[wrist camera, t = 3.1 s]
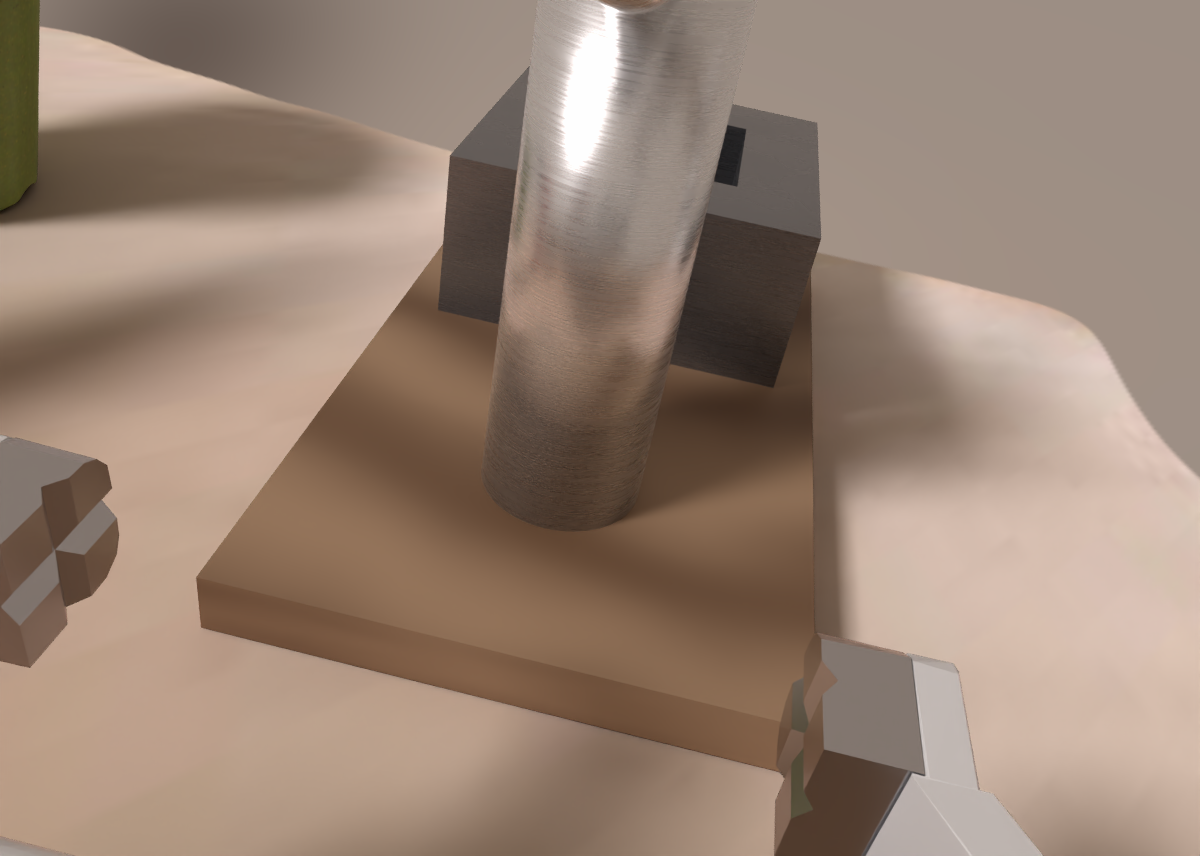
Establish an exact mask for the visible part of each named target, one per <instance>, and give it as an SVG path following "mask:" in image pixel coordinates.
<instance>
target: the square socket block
mask: <svg viewBox="0 0 1200 856" xmlns="http://www.w3.org/2000/svg"><path fill="white" fill-rule="evenodd" d="M529 68H530V66H529V67H528V68H527V69H526V70H525V72H524V73H523V74H522V75H521V76H520V77H519V78H518V79H517V81H516V82H515V83H514V84H513V85H512V86H511V87H510V89H509V90H508V91H507V92H506V93H505V94H504V95H503V96H502V98H501V99H500V100H499V101H498V102H497V103H496V104H495V105H494V107H493V108H492V109H491V110H490V111H489V112H488V113H487V114H486V116H485V117H484V118H483V119H482V120H481V121H480V122H479V123H478V125H477V126H476V127H475V128H474V129H473V130H472V131H471V133H470V134H469V135H468V136H467V137H466V138H465V139H464V140H463V141H462V143H461V144H460V145H459V146H458V147H457V148H456V149H455V150H454V152H453V153H452V154H451V155H450V164H449V177H448V189H447V202H446V214H445V227H444V240H443V252H442V265H441V277H440V290H439V303H438V310H439V311H443V312H448V313H452V314H456V315H461V316H465V317H469V318H473V319H478V320H482V321H486V322H491V323H495V324H499V319H500V310H501V302H502V294H503V285H504V277H505V269H506V260H507V252H508V244H509V235H510V227H511V219H512V210H513V202H514V194H515V185H516V177H517V169H518V160H519V152H520V144H521V135H522V127H523V119H524V110H525V102H526V93H527V85H528V77H529ZM817 135H818V132H817V123H815V122H811V121H806V120H802V119H797V118H793V117H788V116H783V115H779V114H774V113H769V112H765V111H760V110H756V109H751V108H746V107H742V106H738V105H733V104H732V108H731V112H730V116H729V120H728V124H727V128H726V133H725V137H724V141H723V145H722V149H721V153H720V157H719V162H718V166H717V170H716V174H715V178H714V182H713V187H712V191H711V195H710V199H709V203H708V207H707V211H706V216H705V220H704V224H703V228H702V232H701V236H700V240H699V245H698V249H697V253H696V257H695V261H694V265H693V269H692V274H691V278H690V282H689V286H688V290H687V294H686V299H685V303H684V307H683V311H682V315H681V319H680V323H679V328H678V332H677V336H676V340H675V344H674V348H673V352H672V357H671V361H670V364H672V365H676V366H680V367H685V368H689V369H693V370H698V371H702V372H706V373H711V374H715V375H719V376H723V377H728V378H732V379H736V380H741V381H745V382H749V383H754V384H758V385H762V386H767V387H771V388H774V385H775V382H776V379H777V375H778V372H779V369H780V366H781V363H782V360H783V357H784V353H785V350H786V347H787V344H788V341H789V338H790V335H791V331H792V328H793V325H794V322H795V319H796V316H797V313H798V309H799V306H800V303H801V300H802V297H803V294H804V291H805V287H806V284H807V281H808V278H809V275H810V272H811V269H812V265H813V262H814V259H815V256H816V253H817V250H818V246H819V243H820V240H821V224H820V193H819V165H818V164H819V163H818V137H817Z"/></svg>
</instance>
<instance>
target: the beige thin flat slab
mask: <svg viewBox="0 0 1200 856" xmlns="http://www.w3.org/2000/svg"><path fill="white" fill-rule="evenodd" d="M442 252H443V245H442V246H441V248H440V249H439V250H438V252H437V253H436V254H435V256H434V257H433V258H432V260H431V261H430V262H429V264H428V265H427V266H426V268H425V269H424V271H423V272H422V273H421V275H420V276H419V277H418V279H417V280H416V281H415V283H414V284H413V285H412V287H411V288H410V289H409V291H408V292H407V293H406V295H405V296H404V298H403V299H402V300H401V302H400V303H399V304H398V306H397V307H396V308H395V310H394V311H393V312H392V314H391V315H390V316H389V318H388V319H387V321H386V322H385V323H384V325H383V326H382V327H381V329H380V330H379V331H378V333H377V334H376V335H375V337H374V338H373V339H372V341H371V342H370V343H369V345H368V346H367V348H366V349H365V350H364V352H363V353H362V354H361V356H360V357H359V358H358V360H357V361H356V362H355V364H354V365H353V366H352V368H351V369H350V370H349V372H348V373H347V375H346V376H345V377H344V379H343V380H342V381H341V383H340V384H339V385H338V387H337V388H336V389H335V391H334V392H333V393H332V395H331V396H330V397H329V399H328V400H327V402H326V403H325V404H324V406H323V407H322V408H321V410H320V411H319V412H318V414H317V415H316V416H315V418H314V419H313V420H312V422H311V423H310V424H309V426H308V427H307V429H306V430H305V431H304V433H303V434H302V435H301V437H300V438H299V439H298V441H297V442H296V443H295V445H294V446H293V447H292V449H291V450H290V451H289V453H288V454H287V456H286V457H285V458H284V460H283V461H282V462H281V464H280V465H279V466H278V468H277V469H276V470H275V472H274V473H273V474H272V476H271V477H270V479H269V480H268V481H267V483H266V484H265V485H264V487H263V488H262V489H261V491H260V492H259V493H258V495H257V496H256V497H255V499H254V500H253V501H252V503H251V504H250V506H249V507H248V508H247V510H246V511H245V512H244V514H243V515H242V516H241V518H240V519H239V520H238V522H237V523H236V524H235V526H234V527H233V528H232V530H231V531H230V533H229V534H228V535H227V537H226V538H225V539H224V541H223V542H222V543H221V545H220V546H219V547H218V549H217V550H216V551H215V553H214V554H213V555H212V557H211V558H210V560H209V561H208V562H207V564H206V565H205V566H204V568H203V569H202V570H201V572H200V573H199V574H198V576H197V577H196V579H197V590H198V600H199V610H200V620H201V627H202V628H206V629H210V630H214V631H218V632H222V633H226V634H230V635H234V636H238V637H242V638H246V639H250V640H254V641H258V642H262V643H266V644H270V645H274V646H278V647H282V648H286V649H290V650H294V651H298V652H302V653H306V654H310V655H314V656H318V657H322V658H326V659H330V660H334V661H338V662H342V663H346V664H350V665H354V666H358V667H362V668H366V669H370V670H374V671H378V672H382V673H386V674H390V675H394V676H398V677H402V678H406V679H410V680H414V681H418V682H422V683H426V684H430V685H434V686H438V687H442V688H446V689H450V690H454V691H458V692H462V693H466V694H470V695H474V696H478V697H482V698H486V699H490V700H494V701H498V702H502V703H506V704H510V705H514V706H518V707H522V708H526V709H530V710H534V711H538V712H542V713H546V714H550V715H554V716H558V717H562V718H566V719H570V720H574V721H578V722H582V723H586V724H590V725H594V726H598V727H602V728H606V729H610V730H614V731H618V732H622V733H626V734H630V735H634V736H638V737H642V738H646V739H650V740H654V741H658V742H662V743H666V744H670V745H674V746H678V747H682V748H686V749H690V750H694V751H698V752H702V753H706V754H710V755H714V756H718V757H722V758H726V759H730V760H734V761H738V762H742V763H746V764H750V765H754V766H758V767H762V768H766V769H770V770H774V771H778V772H780V771H779V769H778V768H777V766H776V759H777V742H778V734H779V726H780V722H781V718H782V714H783V710H784V705H785V702H786V699H787V697H788V694H789V691H790V689H791V686H792V683H793V682H795V681H797V680H799V679H801V678H803V677H804V654H805V652H806V650H807V647H808V645H809V643H810V640H811V639H812V638H813V636H814V635H815V618H814V526H813V435H812V343H811V272H810V275H809V278H808V281H807V284H806V287H805V291H804V294H803V297H802V300H801V303H800V306H799V309H798V313H797V316H796V319H795V322H794V325H793V328H792V331H791V335H790V338H789V341H788V344H787V347H786V350H785V353H784V357H783V360H782V363H781V366H780V369H779V372H778V375H777V379H776V382H775V385H774V388H771V387H767V386H762V385H758V384H754V383H749V382H745V381H741V380H736V379H732V378H728V377H723V376H719V375H715V374H711V373H706V372H702V371H698V370H693V369H689V368H685V367H680V366H676V365H672V364H670V365H669V369H668V373H667V377H666V381H665V386H664V390H663V394H662V398H661V402H660V406H659V411H658V415H657V419H656V423H655V427H654V431H653V435H652V440H651V444H650V448H649V452H648V456H647V460H646V464H645V469H644V473H643V477H642V481H641V485H640V489H639V493H638V497H637V500H636V503H635V504H634V506H633V508H632V509H631V510H630V511H629V513H628V514H627V515H625V516H624V517H623V518H622V519H620V520H618V521H617V522H615V523H613V524H610V525H608V526H606V527H602V528H599V529H594V530H588V531H577V532H572V531H557V530H551V529H546V528H542V527H538V526H535V525H532V524H529V523H527V522H524V521H522V520H520V519H518V518H516V517H514V516H512V515H511V514H509V513H507V512H506V511H505V510H503V509H502V508H501V507H500V506H498V505H497V504H496V503H495V502H494V501H493V500H492V498H491V497H490V496H489V494H488V493H487V491H486V489H485V487H484V485H483V481H482V476H481V469H482V461H483V452H484V444H485V436H486V427H487V419H488V411H489V402H490V394H491V386H492V377H493V369H494V361H495V352H496V344H497V336H498V327H499V324H495V323H491V322H486V321H482V320H478V319H473V318H469V317H465V316H461V315H456V314H452V313H448V312H443V311H439V310H438V303H439V290H440V277H441V265H442Z"/></svg>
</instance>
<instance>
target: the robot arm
mask: <svg viewBox="0 0 1200 856" xmlns="http://www.w3.org/2000/svg"><path fill="white" fill-rule="evenodd" d="M111 489H112V486H111V481H110V476H109V472H108V467H107V465H106V464H104V463H102V462H101V461H99V460H97V459H94V458H90V457H87V456H83V455H79V454H75V453H72V452H68V451H64V450H61V449H57V448H53V447H49V446H46V445H42V444H38V443H34V442H31V441H27V440H23V439H19V438H12V437H8V436H4V435H1V434H0V661H2V662H6V663H11V664H15V665H20V666H24V667H29V668H31V666H32V665H33V664H34V663H35V662H36V661H37V659H38V658H39V657H40V656H41V655H42V654H43V652H44V651H45V650H46V649H47V648H48V647H49V645H50V644H51V643H52V642H53V641H54V639H55V638H56V637H57V636H58V635H59V634H60V632H61V631H62V630H63V629H64V628H65V627H66V625H67V609H66V607H67V606H70V605H72V604H74V603H76V602H79V601H81V600H83V599H86V598H88V597H90V596H92V595H93V594H94V592H95V591H96V590H97V589H98V587H99V586H100V585H101V584H102V582H103V581H104V580H105V579H106V577H107V575H108V573H109V571H110V568H111V566H112V564H113V561H114V559H115V557H116V554H117V548H118V539H119V531H118V524H117V518H116V517H115V515H114V514H113V513H112V512H111V511H110V509H109V508H108V507H107V506H106V505H105V503H104V502H103V501H102V499H103V498H104V496H105V495H106V494H107V493H108V492H109V491H110V490H111ZM776 766H777V768H778V769H779V771H780V772H781V774H782V775H783V777H784V782H783V784H782V786H781V789H780V791H779V793H778V796H777V798H776V800H775V838H774V856H1043V854H1042V853H1041V852H1040V851H1039V849H1038V848H1037V847H1036V846H1035V845H1034V843H1033V842H1032V841H1031V840H1030V838H1029V837H1028V836H1027V835H1026V833H1025V832H1024V831H1023V830H1022V828H1021V827H1020V826H1019V825H1018V823H1017V822H1016V821H1015V820H1014V818H1013V817H1012V816H1011V815H1010V814H1009V812H1008V811H1007V810H1006V809H1005V807H1004V806H1003V805H1002V804H1001V802H1000V801H999V800H998V799H997V797H996V796H995V795H994V794H992V793H988V792H985V791H981V790H980V789H979V783H978V778H977V772H976V766H975V761H974V755H973V749H972V744H971V738H970V732H969V726H968V721H967V715H966V709H965V704H964V698H963V692H962V687H961V681H960V675H959V671H958V670H957V668H956V667H955V665H954V664H953V663H949V662H945V661H940V660H936V659H931V658H927V657H923V656H918V655H914V654H909V653H907V654H905V653H903V652H899V651H895V650H891V649H886V648H882V647H878V646H873V645H869V644H865V643H860V642H856V641H852V640H848V639H843V638H839V637H835V636H830V635H826V634H822V633H817V632H816V634H815V635H814V636H813V638H812V639H811V640H810V643H809V645H808V647H807V650H806V652H805V654H804V677H803V678H801V679H799V680H797V681H795V682H793V683H792V686H791V689H790V691H789V694H788V697H787V699H786V702H785V705H784V710H783V714H782V718H781V722H780V726H779V734H778V742H777V759H776ZM0 856H74V855H70V854H66V853H62V852H59V851H55V850H51V849H47V848H43V847H39V846H36V845H32V844H28V843H24V842H20V841H16V840H13V839H9V838H5V837H1V836H0Z"/></svg>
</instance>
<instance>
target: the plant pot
mask: <svg viewBox="0 0 1200 856" xmlns="http://www.w3.org/2000/svg"><path fill="white" fill-rule="evenodd" d="M39 7H40V0H0V210H3V209H5V208H7V207H10V206H12V205H13V204H15V203H16V202H18V201H19V200H20V198H21V196H22V195H23V193H24V192H25V190H26V189H27V188H28V187H29V186H30V185H31V184H34V183H36V181H37V163H38V84H39V12H40V10H39V9H40V8H39Z"/></svg>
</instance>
